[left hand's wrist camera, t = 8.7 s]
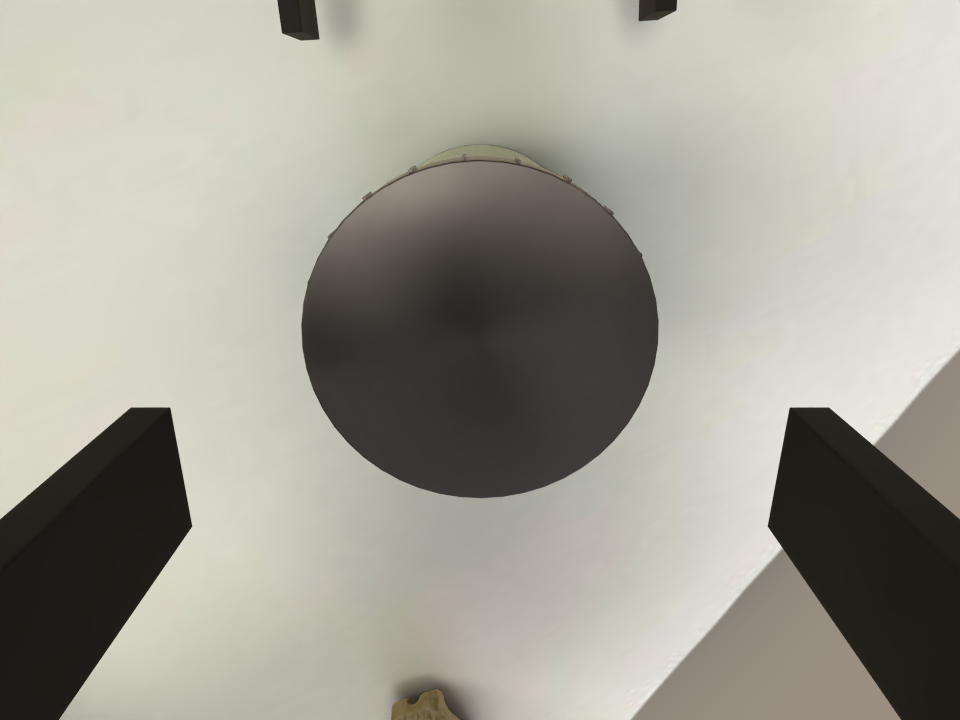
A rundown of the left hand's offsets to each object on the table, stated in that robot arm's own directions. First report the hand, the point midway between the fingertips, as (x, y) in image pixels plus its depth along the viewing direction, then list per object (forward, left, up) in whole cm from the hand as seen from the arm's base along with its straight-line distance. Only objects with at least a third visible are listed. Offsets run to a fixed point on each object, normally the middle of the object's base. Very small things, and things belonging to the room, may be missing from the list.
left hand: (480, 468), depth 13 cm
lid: (0, 0, -8) cm, 8 cm away
